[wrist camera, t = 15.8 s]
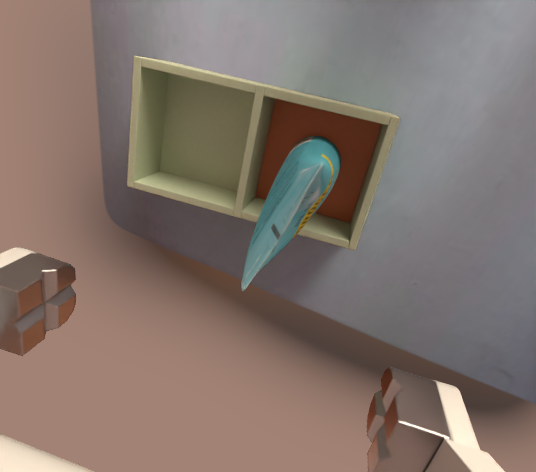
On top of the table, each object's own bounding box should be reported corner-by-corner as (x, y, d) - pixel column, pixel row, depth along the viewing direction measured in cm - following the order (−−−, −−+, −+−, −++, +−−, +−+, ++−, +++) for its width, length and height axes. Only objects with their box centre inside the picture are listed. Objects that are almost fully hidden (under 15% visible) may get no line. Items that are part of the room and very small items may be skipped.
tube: (320, 206, 36) (286, 315, 18) (275, 184, 36) (200, 271, 18) (358, 135, 33) (362, 185, 15) (310, 111, 33) (259, 133, 15)
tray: (393, 113, 32) (400, 118, 27) (355, 228, 37) (355, 250, 32) (165, 60, 35) (133, 55, 30) (156, 174, 39) (126, 186, 34)
